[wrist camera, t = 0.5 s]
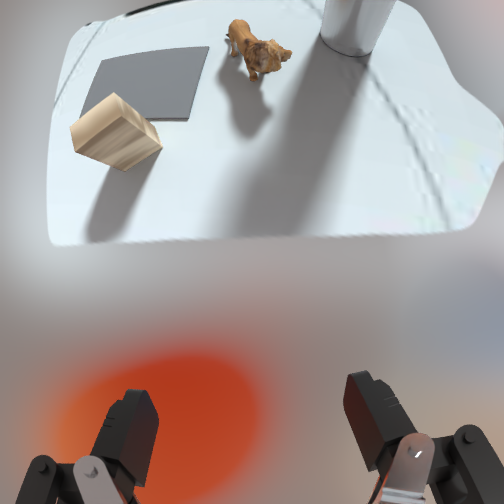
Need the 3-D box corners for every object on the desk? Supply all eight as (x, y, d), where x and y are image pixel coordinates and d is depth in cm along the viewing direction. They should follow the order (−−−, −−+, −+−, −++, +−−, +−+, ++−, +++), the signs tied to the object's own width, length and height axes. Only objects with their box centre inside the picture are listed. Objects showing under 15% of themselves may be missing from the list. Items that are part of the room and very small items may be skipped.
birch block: (117, 151, 36) (69, 127, 24) (154, 126, 36) (113, 92, 24) (124, 171, 36) (74, 151, 24) (163, 147, 36) (121, 115, 24)
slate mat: (102, 61, 36) (101, 60, 35) (209, 47, 34) (208, 46, 34) (78, 124, 37) (77, 123, 36) (188, 118, 35) (187, 117, 35)
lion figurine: (295, 82, 33) (298, 45, 24) (265, 98, 34) (261, 63, 25) (239, 30, 34) (231, -6, 25) (212, 44, 34) (199, 9, 25)
